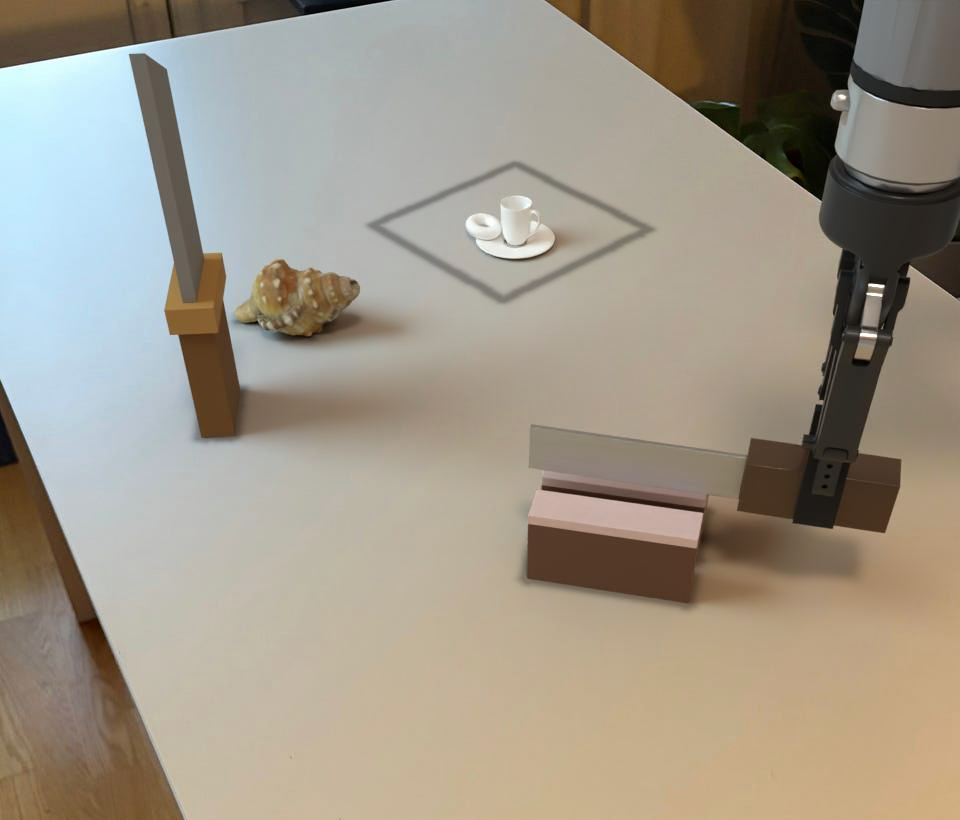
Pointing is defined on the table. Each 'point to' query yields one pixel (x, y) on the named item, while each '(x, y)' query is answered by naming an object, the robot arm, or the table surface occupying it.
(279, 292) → the seashell
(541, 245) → the teacup and saucer
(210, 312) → the knife
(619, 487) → the cake
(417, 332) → the table surface
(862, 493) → the cake knife
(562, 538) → the cake slice
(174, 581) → the table surface
